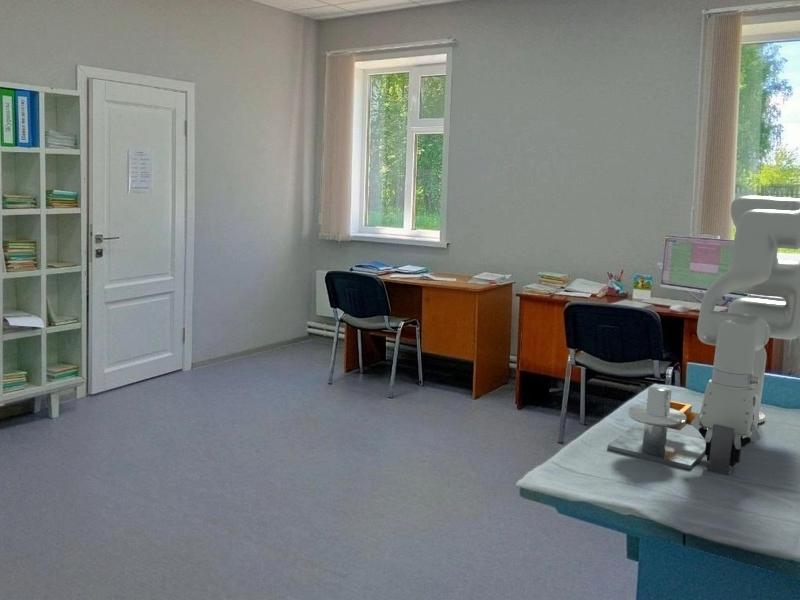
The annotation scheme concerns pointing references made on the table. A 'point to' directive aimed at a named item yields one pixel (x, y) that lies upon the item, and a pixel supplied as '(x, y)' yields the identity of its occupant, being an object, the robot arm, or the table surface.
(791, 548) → the table surface
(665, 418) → the ringlock standard
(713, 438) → the grey rectangular block
